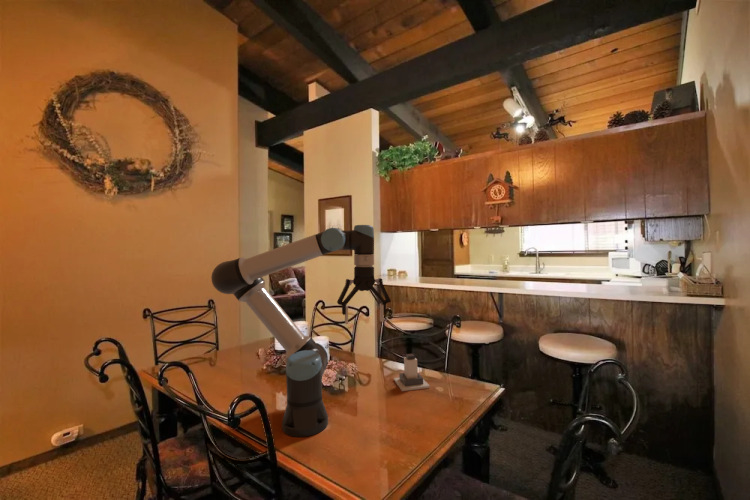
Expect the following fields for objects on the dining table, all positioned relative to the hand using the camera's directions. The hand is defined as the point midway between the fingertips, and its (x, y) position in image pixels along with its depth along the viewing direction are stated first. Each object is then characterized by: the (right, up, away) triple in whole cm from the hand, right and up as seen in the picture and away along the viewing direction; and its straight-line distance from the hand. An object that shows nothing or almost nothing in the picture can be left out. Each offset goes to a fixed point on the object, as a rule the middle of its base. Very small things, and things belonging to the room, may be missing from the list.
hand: (364, 322), depth 127 cm
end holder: (+20, -30, +18) cm, 40 cm away
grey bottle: (+20, -29, +18) cm, 39 cm away
